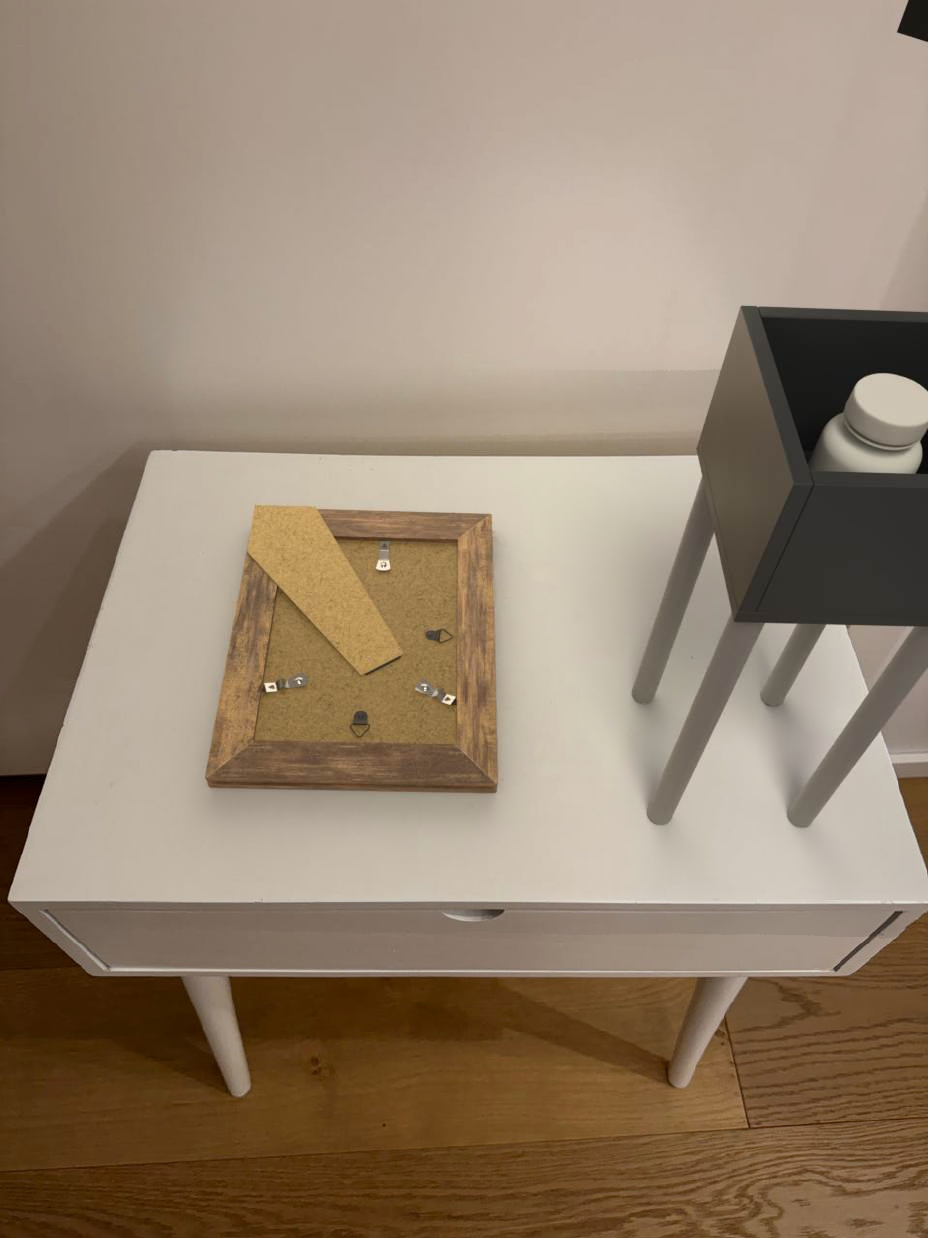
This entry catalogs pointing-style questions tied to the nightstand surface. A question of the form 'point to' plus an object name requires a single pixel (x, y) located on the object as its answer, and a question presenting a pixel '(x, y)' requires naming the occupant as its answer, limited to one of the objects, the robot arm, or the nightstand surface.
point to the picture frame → (361, 655)
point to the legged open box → (798, 529)
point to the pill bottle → (876, 429)
